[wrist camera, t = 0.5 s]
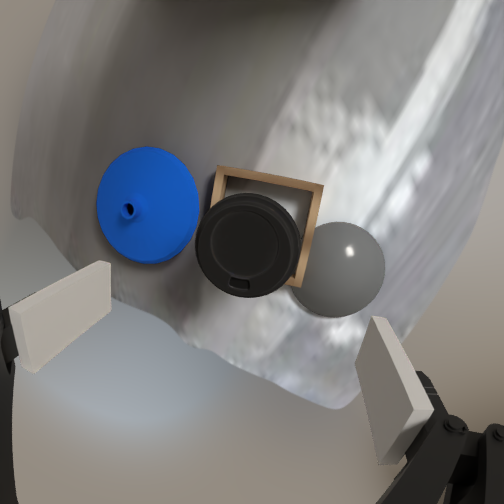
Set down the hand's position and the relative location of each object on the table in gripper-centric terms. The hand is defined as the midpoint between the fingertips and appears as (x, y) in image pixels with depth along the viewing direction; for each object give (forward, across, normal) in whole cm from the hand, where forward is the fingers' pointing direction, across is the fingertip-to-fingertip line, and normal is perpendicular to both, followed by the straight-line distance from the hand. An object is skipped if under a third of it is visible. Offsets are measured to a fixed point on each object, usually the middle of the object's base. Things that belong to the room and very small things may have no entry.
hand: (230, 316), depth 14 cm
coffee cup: (+27, -1, 0) cm, 27 cm away
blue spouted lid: (+27, -17, 0) cm, 32 cm away
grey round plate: (+27, +10, -4) cm, 29 cm away
